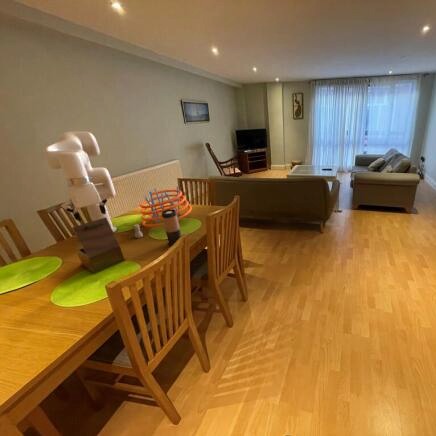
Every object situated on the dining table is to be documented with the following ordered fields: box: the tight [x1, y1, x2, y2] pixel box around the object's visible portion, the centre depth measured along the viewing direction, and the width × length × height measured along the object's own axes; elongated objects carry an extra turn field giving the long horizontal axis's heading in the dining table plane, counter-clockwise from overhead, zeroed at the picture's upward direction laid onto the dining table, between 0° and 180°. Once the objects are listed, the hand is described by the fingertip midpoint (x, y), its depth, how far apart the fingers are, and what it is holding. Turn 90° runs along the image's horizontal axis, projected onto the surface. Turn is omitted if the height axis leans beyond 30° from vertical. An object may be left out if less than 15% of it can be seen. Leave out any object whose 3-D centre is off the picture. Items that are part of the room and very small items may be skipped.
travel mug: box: [161, 209, 182, 246], centre depth 141 cm, size 8×8×20 cm
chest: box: [75, 245, 125, 274], centre depth 124 cm, size 15×14×9 cm
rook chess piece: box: [133, 223, 144, 239], centre depth 152 cm, size 4×4×8 cm
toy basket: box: [139, 185, 193, 228], centre depth 173 cm, size 34×35×24 cm
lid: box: [72, 218, 120, 257], centre depth 115 cm, size 15×14×5 cm
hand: (91, 216), depth 112 cm, fingers open, 9 cm apart
